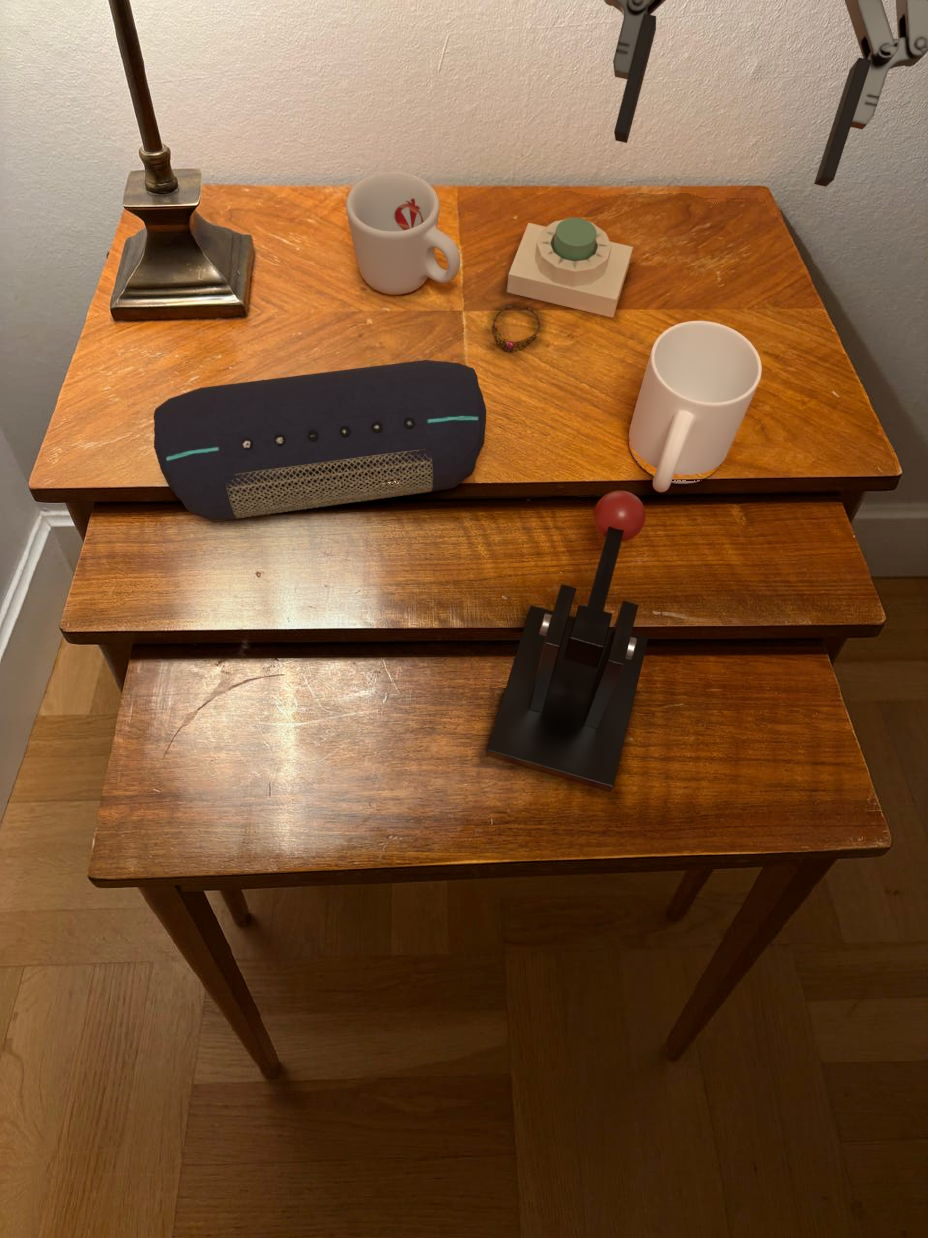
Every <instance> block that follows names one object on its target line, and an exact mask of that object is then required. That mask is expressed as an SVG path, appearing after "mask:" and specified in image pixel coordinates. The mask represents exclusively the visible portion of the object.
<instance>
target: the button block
mask: <svg viewBox="0 0 928 1238" xmlns="http://www.w3.org/2000/svg"><path fill="white" fill-rule="evenodd" d="M563 220H564V219H561V220H560V219H559V220H555V221H553V222H551V223H550V224H548V225H547V226H544V225H540V224H535V223H531V222H528V223H527V226H526V228H525V230H524V232H523V236H522V238H521V240H520V243H519V246H518V248H517V251H516V254H515V256H514V258H513V262H512V264H511V266H510V270H509V272H508V274H507V285H506V293H508V294H513V295H516V296H521V297H525V298H527V299H528V298H530V299H531V300H532V299H533V300H537V301H541V302H545V303H550V304H554V305H557V306H558V305H559V306H562V307H566V308H570V309H574V310H578V311H583V312H587V313H591V314H594V315H599V316H603V317H607V318H612V319H613V318H614V317H615V313H616V309H617V306H618V303H619V299H620V297H621V293H622V290H623V287H624V283H625V280H626V277H627V274H628V270H629V268H630V264H631V260H632V255H633V251H634V246H631V245H627V244H623V243H617V242H614V241H610V238H609V237H608V234H607V232H606V231H605V230H603V229H602V228H600V227H599V226H598V225H596V224H595V223H593V222H592V221H589V222H590V223H591V224H592V225H593V226H594V227H595V229H596V232H597V235H596V241H595V246H594V251H593V254H592V255H591V256H590V257H589V258H588V259H586V260H582V261H575V262H574V261H570V260H566V259H562V258H561V257H560V256H558V255H557V254H556V252H555V250H554V240H555V232H556V227H557V226H558V224H559V223H560V222H561V221H563Z"/></svg>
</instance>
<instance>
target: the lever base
mask: <svg viewBox="0 0 928 1238" xmlns="http://www.w3.org/2000/svg"><path fill="white" fill-rule="evenodd" d="M576 592H577V588H576V587H575V586H570V585H566V584H563V583H561V585H560V587H559V591H558V594H557V597H556V600H555V604H554V607H553V610H550V609H546V608H543V607H539V606H535V605H530V607H529V609H528V612H527V616H526V620H525V623H524V626H523V629H522V633H521V636H520V639H519V642H518V645H517V646H518V647H517V649H516V652H515V656H514V658H513V662H512V666H511V669H510V672H509V675H508V679H507V682H506V685H505V688H504V692H503V695H502V698H501V703H500V705H499V708H498V712H497V715H496V718H495V721H494V724H493V728H492V731H491V734H490V738H489V740H488V745H487V748H486V752H485V756H486V757H489V758H492V759H495V760H498V761H503V762H506V763H508V764H512V765H516V766H519V767H524V768H527V769H529V770H533V771H536V772H538V773H539V772H540V773H543V774H546V775H550V776H553V777H557V778H560V779H563V780H566V781H571V782H574V783H577V784H581V785H584V786H587V787H591V788H594V789H597V790H600V791H604V792H608V793H611V792H612V790H613V789H614V786H615V782H616V778H617V774H618V769H619V765H620V762H621V761H620V760H621V756H622V752H623V748H624V743H625V740H626V734H627V731H628V726H629V724H630V723H629V722H630V718H631V713H632V709H633V706H634V701H635V697H636V693H637V689H638V685H639V680H640V676H641V671H642V666H643V663H644V659H645V654H646V651H647V645H648V641H649V637H647V636H646V635H645V636H644V635H641V634H638V633H634V632H633V629H634V625H635V621H636V617H637V613H638V609H639V604H638V603H635V602H634V603H633V602H631V601H626V600H623V601H622V603H621V605H620V608H619V611H618V614H617V616H616V619H615V622H614V625H613V627H612V626H609V629H608V633H607V637H606V642H605V646H604V649H603V652H602V655H601V658H600V661H599V664H598V667H597V668H593V667H589V666H586V665H582V664H579V663H575V662H572V661H568V660H565V659H564V655H565V652H566V648H567V644H568V641H569V637H570V634H571V630H572V626H573V623H574V619H575V616H572V615H570V614H571V610H572V607H573V603H574V600H575V595H576Z"/></svg>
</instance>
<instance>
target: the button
mask: <svg viewBox="0 0 928 1238" xmlns="http://www.w3.org/2000/svg"><path fill="white" fill-rule="evenodd" d="M562 220H563V221H561V222H560V223H559V224H558V226H557V227H556V232H555V240H554V250H555V252H556V254H557V255H558V256H560V257H561V258H562V259H566V260H570V261H574V262H575V261H582V260H586V259H588V258H589V257H590V256H591V255H592V254H593V251H594V246H595V241H596V235H597V232H596V229H595V227H594V226H593V225H592V224H591V223H592V222H591V221H589V220H586V219H584V218H579V217H568V218H565V219H562ZM590 222H591V223H590Z"/></svg>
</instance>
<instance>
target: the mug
mask: <svg viewBox="0 0 928 1238" xmlns="http://www.w3.org/2000/svg"><path fill="white" fill-rule="evenodd" d="M647 361H648V362H647V366H646V368H645V373H644V376H643V380H642V383H641V386H640V389H639V394H638V397H637V400H636V404H635V407H634V411H633V414H632V419H631V422H630V426H629V431H628V439H629V438H630V441H629V440H628V446H629V450H630V453H631V455H632V457H633V459H634V460H635V462H636V461H639V460H638V459H637V457H636V456H635V454H634V453H633V451H632V448H633V449H634V450H635V451H636V453H637V454H638V455H639V456H640V457H641V458H642V459H643V460H645V462H647V463H648V464H650V465H651V466H653V467H655V468H657V470H656V473H655V476H653V479H652V487H653V489H654V490H655V491H656V492H658V493H665V492H666V491H668V490H669V488H670V486H671V485H672V484H675V485H676V484H678V485H688V484H694V483H699V482H701V481H700V480H697V481H695V480H694V481H686V480H682V481H681V480H677V481H676V480H674V481H672V479H673V477H674V474H678V475H692V474H693V475H695V474H701V473H705V472H708V471H710V470H713V469H715V468H716V467H718V466H719V465H720V464H721V463H722V462H723V461H724V462H725V460H726V458H727V456H728V454H729V453H730V450H731V447H732V445H733V444H734V441H735V438H736V436H737V433H738V431H739V430H740V427H741V425H742V423H743V420H744V418H745V416H746V413H747V411H748V409H749V407H750V404H751V402H752V400H753V398H754V395H755V393H756V390H757V389H758V387H759V384H760V381H761V379H762V372H763V367H762V361H761V358H760V355H759V353H758V351H757V349H756V347H755V346H754V345H753V344H752V342H751V341H750V340H749V339H748V338H747V337H745V336H744V335H743V334H742V333H740V332H739V331H737V330H735V329H733V328H731V327H729V326H727V325H724V324H722V323H719V322H715V321H708V320H691V321H685V322H680V323H677V324H675V325H672V326H671V327H669V328H667V329H665V330H664V331H663V332H662V333H661V334H660V335H658V337H657V338H656V339H655V342H654V343H653V346H652V348H651V351H650V354H649V358H648V360H647ZM630 443H631V445H632V448H631V445H630ZM724 462H723V463H724ZM636 463H637V464H638V463H640V461H639V462H636ZM723 463H722V464H723ZM640 464H642V463H640ZM643 466H644V465H643ZM720 467H721V466H720ZM720 467H719V469H720Z"/></svg>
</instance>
